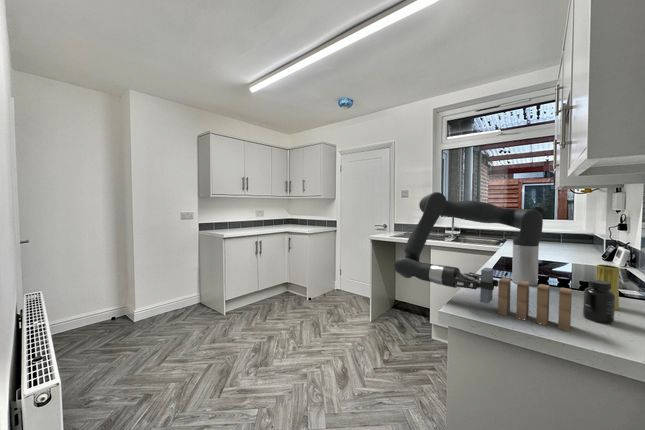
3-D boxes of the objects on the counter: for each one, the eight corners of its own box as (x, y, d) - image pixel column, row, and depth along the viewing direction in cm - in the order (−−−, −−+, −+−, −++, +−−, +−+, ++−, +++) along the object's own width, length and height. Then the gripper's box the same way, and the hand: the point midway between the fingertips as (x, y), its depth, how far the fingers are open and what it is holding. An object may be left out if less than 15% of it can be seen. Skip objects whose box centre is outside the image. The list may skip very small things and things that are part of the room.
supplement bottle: (577, 316, 86) (579, 279, 85) (590, 313, 88) (591, 277, 87) (606, 326, 79) (608, 286, 79) (619, 322, 82) (621, 283, 81)
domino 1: (484, 298, 95) (485, 267, 95) (492, 299, 94) (493, 268, 93) (480, 301, 92) (481, 270, 91) (488, 303, 90) (489, 271, 90)
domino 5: (559, 323, 81) (561, 287, 81) (570, 325, 80) (571, 289, 79) (558, 328, 78) (559, 291, 77) (569, 331, 76) (570, 293, 76)
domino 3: (519, 313, 88) (520, 280, 88) (528, 315, 87) (529, 282, 86) (516, 318, 85) (517, 284, 84) (525, 320, 83) (526, 285, 83)
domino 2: (501, 309, 92) (502, 277, 91) (509, 311, 90) (510, 279, 90) (497, 313, 88) (498, 280, 88) (506, 315, 87) (507, 282, 86)
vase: (621, 311, 89) (623, 269, 88) (595, 307, 93) (597, 266, 92) (616, 305, 94) (618, 265, 93) (591, 302, 98) (593, 263, 97)
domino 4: (538, 318, 85) (539, 283, 84) (548, 320, 83) (549, 285, 83) (536, 323, 81) (537, 287, 81) (546, 325, 80) (547, 289, 79)
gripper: (436, 269, 98) (490, 278, 85) (451, 262, 108) (501, 270, 95) (436, 289, 98) (489, 301, 86) (451, 281, 108) (500, 291, 96)
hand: (495, 285), depth 91 cm, fingers closed on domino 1, 5 cm apart
